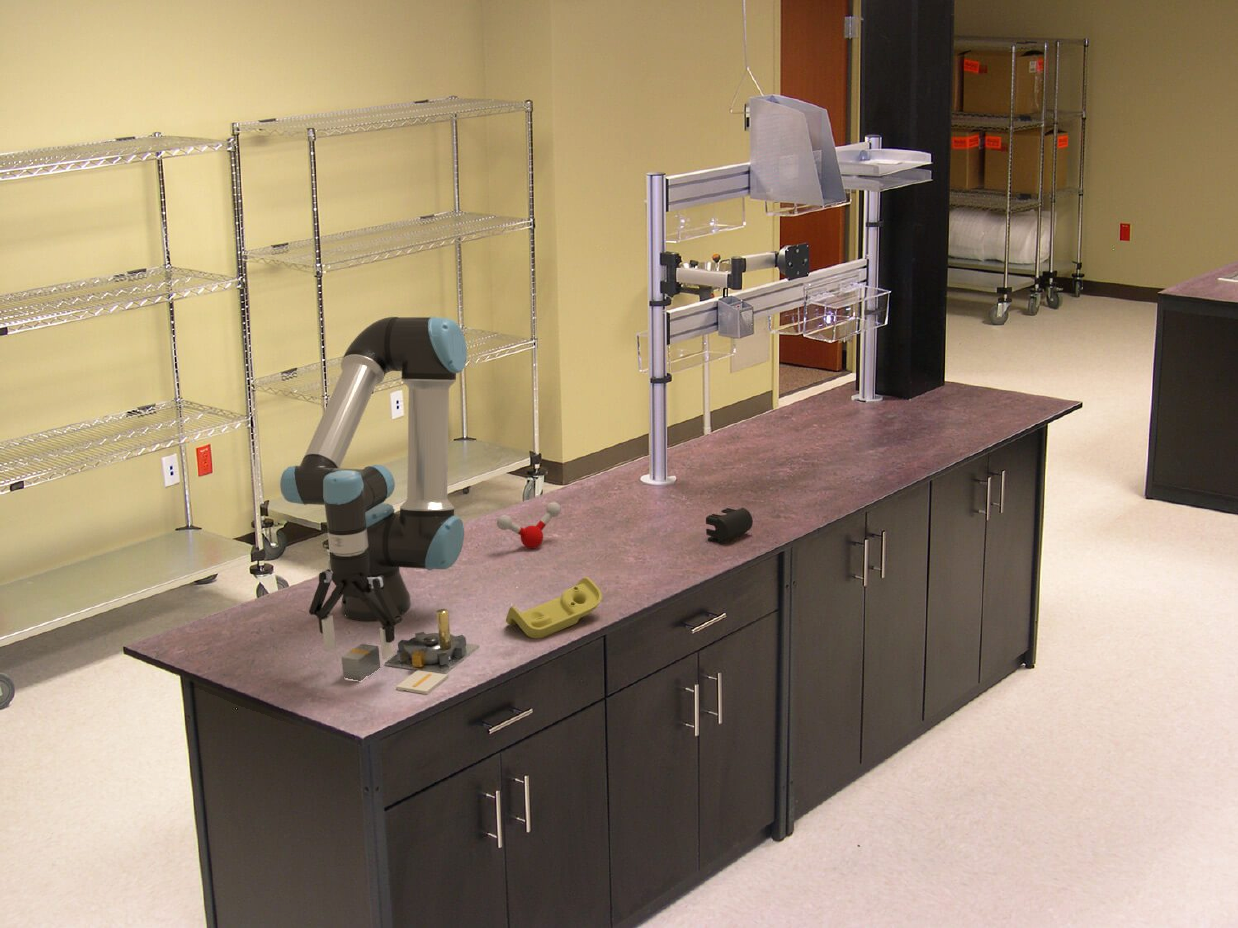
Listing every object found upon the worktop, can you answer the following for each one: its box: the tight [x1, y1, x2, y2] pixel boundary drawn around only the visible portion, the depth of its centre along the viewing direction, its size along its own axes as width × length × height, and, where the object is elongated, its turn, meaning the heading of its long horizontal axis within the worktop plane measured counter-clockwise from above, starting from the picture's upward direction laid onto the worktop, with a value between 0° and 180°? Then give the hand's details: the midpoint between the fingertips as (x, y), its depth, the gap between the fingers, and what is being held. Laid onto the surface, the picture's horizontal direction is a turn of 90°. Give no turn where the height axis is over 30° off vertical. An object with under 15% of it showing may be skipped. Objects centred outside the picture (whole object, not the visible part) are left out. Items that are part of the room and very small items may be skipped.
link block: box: [341, 643, 382, 681], centre depth 293 cm, size 4×7×5 cm, turn 155°
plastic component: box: [505, 576, 603, 639], centre depth 315 cm, size 20×7×10 cm
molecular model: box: [496, 501, 562, 549], centre depth 360 cm, size 18×6×10 cm, turn 131°
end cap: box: [705, 507, 754, 545], centre depth 360 cm, size 10×7×7 cm
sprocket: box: [396, 608, 467, 667], centre depth 299 cm, size 14×14×10 cm
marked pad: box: [395, 670, 449, 695], centre depth 288 cm, size 7×8×1 cm
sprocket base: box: [384, 642, 480, 674], centre depth 301 cm, size 14×14×1 cm
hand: (358, 652), depth 292 cm, fingers open, 13 cm apart
